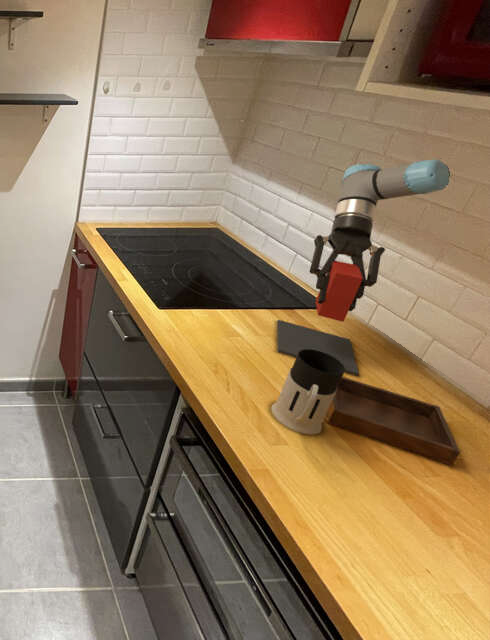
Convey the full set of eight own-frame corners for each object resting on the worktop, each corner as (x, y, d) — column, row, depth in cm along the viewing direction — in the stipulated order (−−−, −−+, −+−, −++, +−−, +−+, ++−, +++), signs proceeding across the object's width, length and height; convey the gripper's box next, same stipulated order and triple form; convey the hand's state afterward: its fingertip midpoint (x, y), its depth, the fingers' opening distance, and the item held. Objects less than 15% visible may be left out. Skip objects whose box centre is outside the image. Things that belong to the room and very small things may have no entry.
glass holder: (322, 415, 94) (350, 359, 88) (318, 459, 84) (348, 399, 78) (274, 396, 99) (296, 341, 93) (264, 435, 89) (288, 377, 83)
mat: (348, 341, 118) (350, 339, 118) (357, 376, 106) (358, 373, 106) (277, 321, 126) (278, 319, 126) (277, 351, 114) (278, 349, 113)
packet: (339, 306, 113) (358, 265, 108) (343, 322, 107) (363, 278, 102) (315, 300, 116) (332, 259, 111) (317, 315, 110) (335, 272, 105)
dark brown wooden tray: (431, 419, 94) (439, 406, 93) (451, 466, 84) (460, 452, 82) (322, 384, 103) (328, 372, 102) (327, 422, 93) (334, 409, 91)
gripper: (393, 235, 111) (378, 321, 106) (305, 220, 120) (287, 298, 115) (407, 222, 105) (392, 313, 99) (313, 207, 114) (294, 289, 108)
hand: (335, 305), depth 107 cm, fingers closed on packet, 5 cm apart
